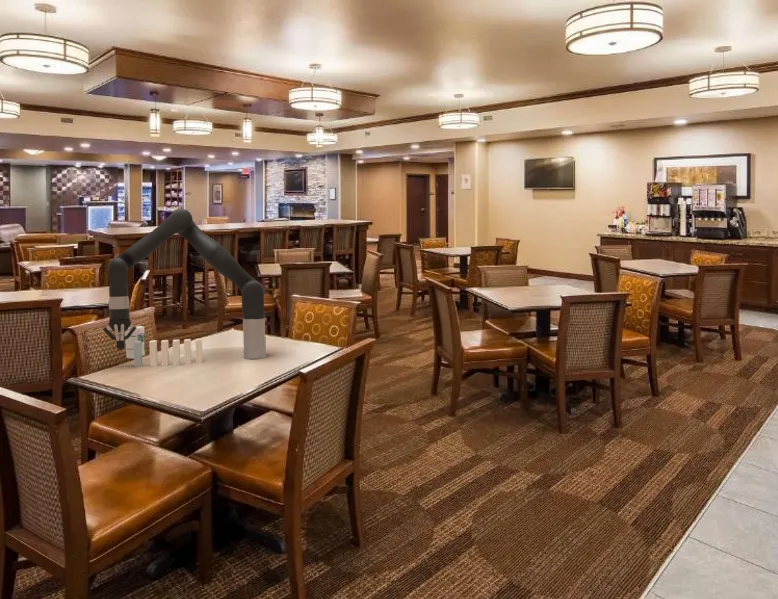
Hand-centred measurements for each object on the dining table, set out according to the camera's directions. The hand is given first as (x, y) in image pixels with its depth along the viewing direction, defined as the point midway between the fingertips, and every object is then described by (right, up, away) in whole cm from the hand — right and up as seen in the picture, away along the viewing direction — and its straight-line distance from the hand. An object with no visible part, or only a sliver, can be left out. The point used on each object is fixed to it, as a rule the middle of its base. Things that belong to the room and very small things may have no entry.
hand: (120, 349), depth 243 cm
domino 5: (+25, -6, +8) cm, 27 cm away
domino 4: (+21, -7, +6) cm, 23 cm away
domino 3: (+16, -7, +5) cm, 18 cm away
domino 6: (+29, -6, +9) cm, 31 cm away
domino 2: (+12, -7, +4) cm, 14 cm away
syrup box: (-1, -6, +17) cm, 18 cm away
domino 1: (+6, -7, +2) cm, 10 cm away
